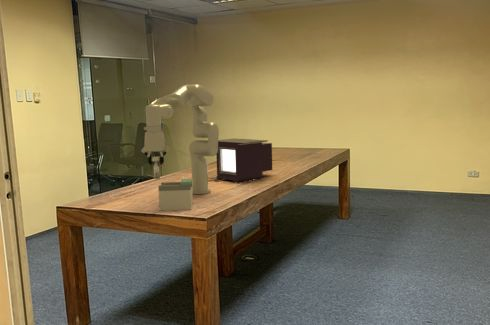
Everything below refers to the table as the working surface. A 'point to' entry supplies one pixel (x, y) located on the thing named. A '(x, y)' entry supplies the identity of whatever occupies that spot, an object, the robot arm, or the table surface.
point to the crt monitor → (243, 159)
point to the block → (175, 196)
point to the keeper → (185, 181)
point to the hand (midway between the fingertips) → (156, 164)
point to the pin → (156, 167)
